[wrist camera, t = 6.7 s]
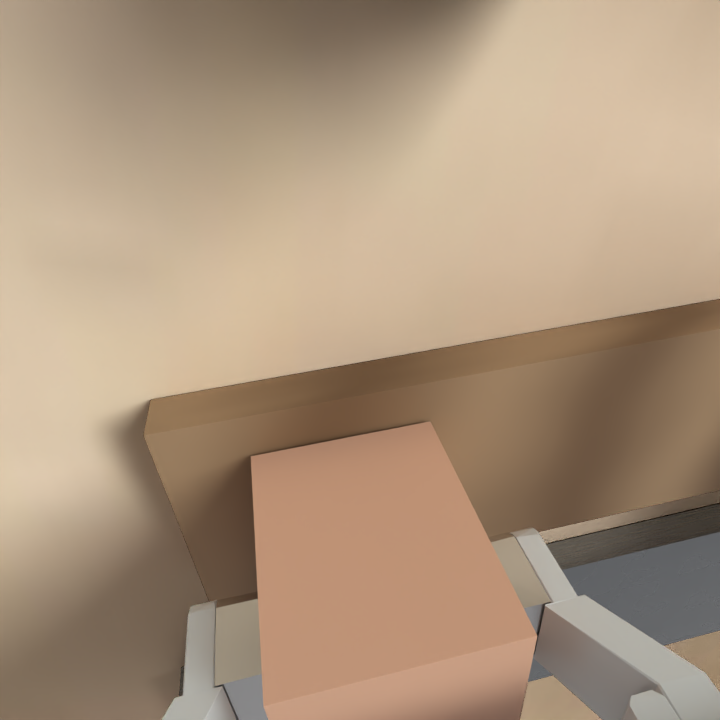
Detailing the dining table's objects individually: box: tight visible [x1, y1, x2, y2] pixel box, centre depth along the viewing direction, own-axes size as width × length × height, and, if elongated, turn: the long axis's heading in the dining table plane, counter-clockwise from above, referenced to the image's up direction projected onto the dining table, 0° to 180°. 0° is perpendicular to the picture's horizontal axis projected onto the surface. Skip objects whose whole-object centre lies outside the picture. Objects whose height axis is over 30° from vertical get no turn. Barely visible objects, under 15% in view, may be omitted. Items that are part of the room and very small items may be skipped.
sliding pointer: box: [251, 421, 537, 720], centre depth 12 cm, size 4×10×5 cm, turn 4°
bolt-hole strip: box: [179, 504, 720, 696], centre depth 19 cm, size 26×7×1 cm, turn 94°
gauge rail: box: [143, 299, 720, 602], centre depth 14 cm, size 22×6×1 cm, turn 94°
